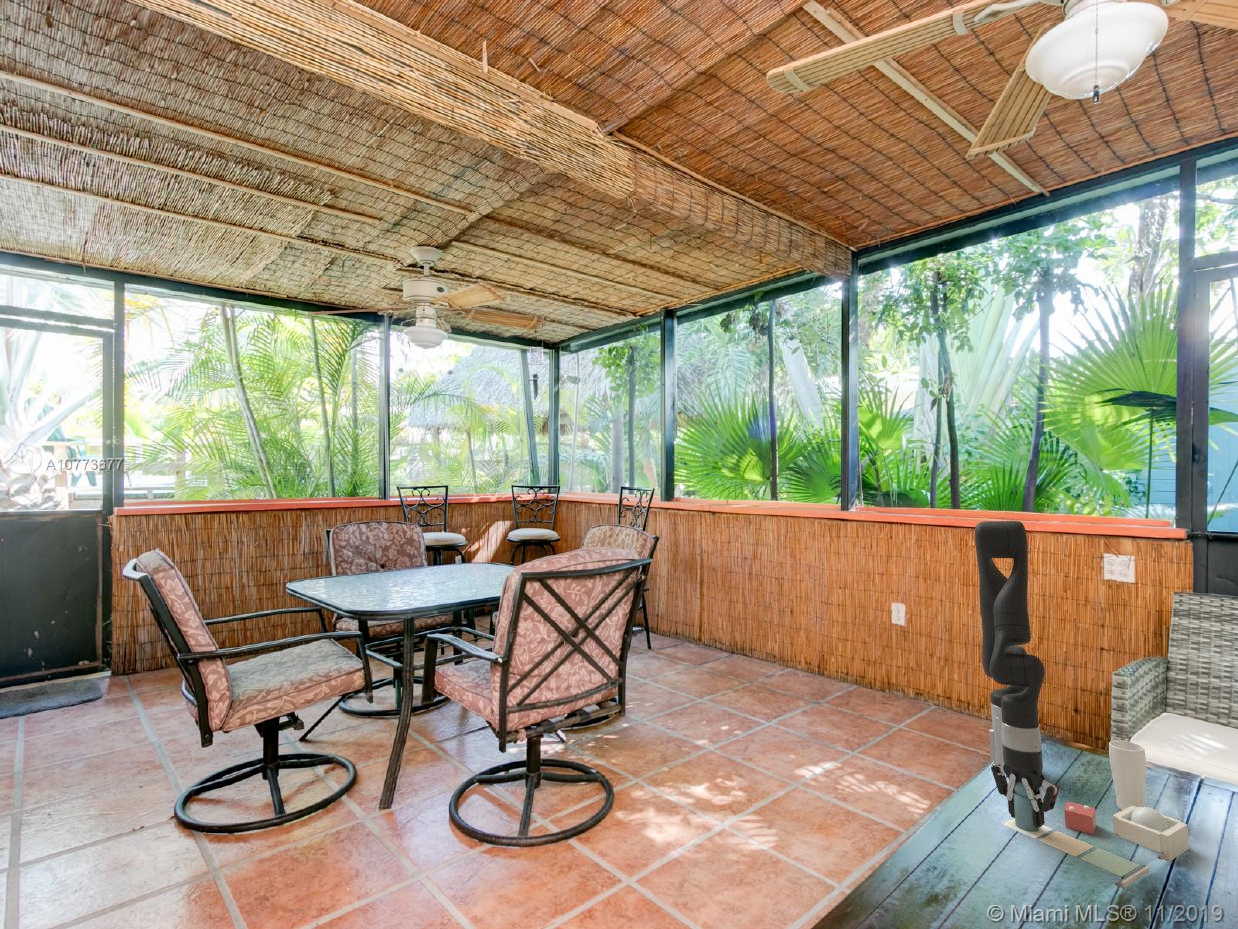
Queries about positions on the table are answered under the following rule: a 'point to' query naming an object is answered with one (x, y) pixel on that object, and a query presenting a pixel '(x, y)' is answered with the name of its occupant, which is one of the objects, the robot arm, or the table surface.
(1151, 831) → the dome collar
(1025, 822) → the slate blue cylinder
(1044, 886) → the table surface
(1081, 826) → the red die
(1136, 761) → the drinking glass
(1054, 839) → the game board
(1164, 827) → the pale grey egg
